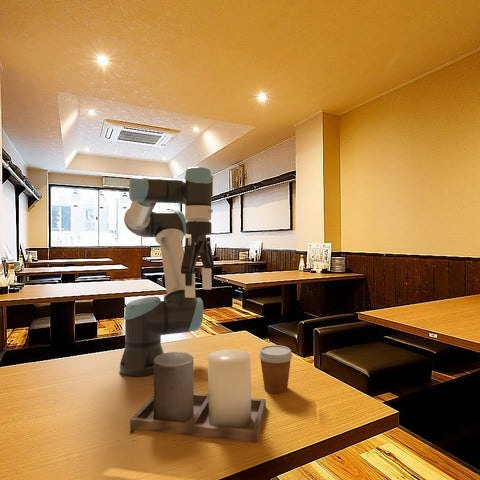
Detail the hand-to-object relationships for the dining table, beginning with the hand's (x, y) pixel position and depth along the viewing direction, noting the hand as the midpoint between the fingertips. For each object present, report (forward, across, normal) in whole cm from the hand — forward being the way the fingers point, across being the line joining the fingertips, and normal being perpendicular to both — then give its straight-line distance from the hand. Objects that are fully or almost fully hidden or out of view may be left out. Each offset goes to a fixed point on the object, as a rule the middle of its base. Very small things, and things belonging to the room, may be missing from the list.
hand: (199, 293), depth 99 cm
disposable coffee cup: (+28, +1, -23) cm, 36 cm away
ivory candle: (+26, -18, -14) cm, 35 cm away
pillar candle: (+27, -18, -1) cm, 32 cm away
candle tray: (+27, -18, -8) cm, 34 cm away
